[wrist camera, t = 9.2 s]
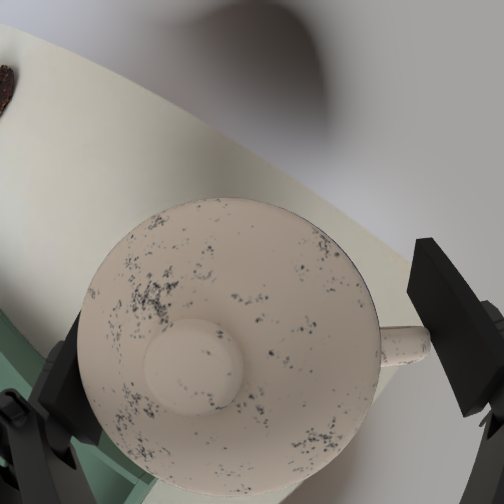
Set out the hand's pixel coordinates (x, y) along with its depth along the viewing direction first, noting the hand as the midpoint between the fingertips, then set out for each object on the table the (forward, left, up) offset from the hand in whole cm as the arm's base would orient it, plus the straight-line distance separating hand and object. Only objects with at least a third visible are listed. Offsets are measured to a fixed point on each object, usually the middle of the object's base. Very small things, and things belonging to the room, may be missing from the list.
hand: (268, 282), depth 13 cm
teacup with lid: (-1, +2, -5) cm, 5 cm away
